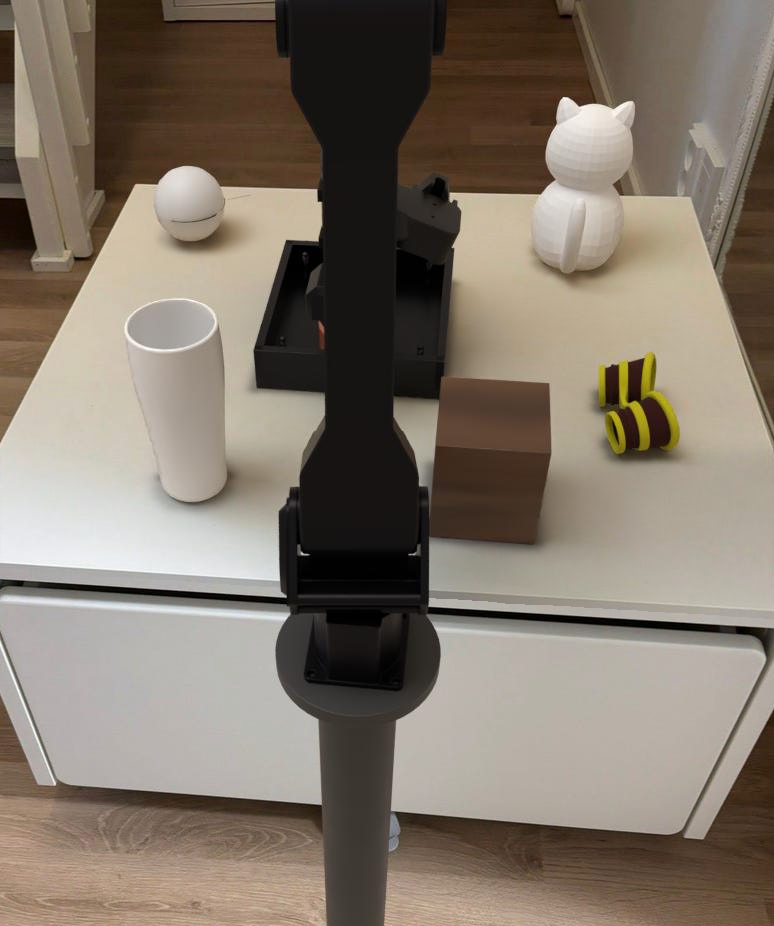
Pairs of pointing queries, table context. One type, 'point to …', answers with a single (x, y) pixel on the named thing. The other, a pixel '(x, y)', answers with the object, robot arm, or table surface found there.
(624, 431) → the opera glasses
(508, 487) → the block
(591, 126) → the cat figurine
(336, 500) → the robot arm
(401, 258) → the tray
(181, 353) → the drinking glass
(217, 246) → the table surface
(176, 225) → the white ball
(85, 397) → the table surface
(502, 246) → the table surface
